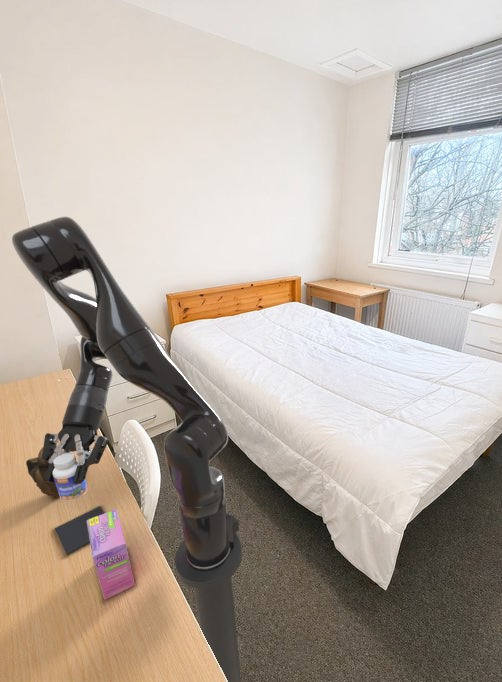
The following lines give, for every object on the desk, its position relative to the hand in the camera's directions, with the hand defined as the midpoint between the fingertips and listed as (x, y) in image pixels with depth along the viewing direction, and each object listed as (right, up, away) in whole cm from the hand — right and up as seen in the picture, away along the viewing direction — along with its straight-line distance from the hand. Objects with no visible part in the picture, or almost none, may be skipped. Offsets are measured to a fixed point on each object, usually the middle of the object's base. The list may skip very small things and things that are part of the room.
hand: (63, 482), depth 76 cm
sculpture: (-14, -9, +18) cm, 25 cm away
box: (+13, -18, -3) cm, 22 cm away
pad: (0, -14, +7) cm, 15 cm away
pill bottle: (0, -4, +4) cm, 5 cm away
